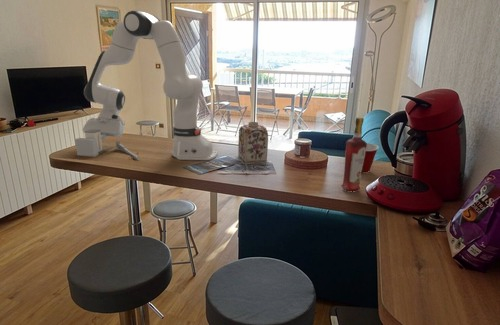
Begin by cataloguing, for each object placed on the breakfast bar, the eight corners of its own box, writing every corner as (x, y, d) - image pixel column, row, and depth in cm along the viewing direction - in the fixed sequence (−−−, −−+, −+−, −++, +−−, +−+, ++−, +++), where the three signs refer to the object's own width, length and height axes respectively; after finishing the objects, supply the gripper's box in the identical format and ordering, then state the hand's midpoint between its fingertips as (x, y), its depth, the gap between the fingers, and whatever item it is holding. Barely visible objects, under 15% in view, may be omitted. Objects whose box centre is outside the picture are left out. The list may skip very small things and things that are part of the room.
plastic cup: (345, 171, 147) (349, 145, 144) (355, 165, 155) (359, 141, 151) (369, 177, 141) (373, 150, 137) (378, 171, 148) (382, 145, 145)
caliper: (116, 152, 166) (115, 140, 164) (118, 151, 167) (117, 139, 165) (138, 161, 154) (137, 148, 152) (140, 160, 155) (139, 147, 153)
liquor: (350, 185, 131) (359, 115, 122) (364, 191, 125) (375, 119, 116) (336, 188, 127) (344, 116, 119) (350, 195, 121) (360, 120, 113)
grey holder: (120, 149, 170) (118, 132, 167) (99, 159, 153) (97, 140, 151) (95, 147, 172) (93, 130, 170) (72, 157, 155) (70, 138, 153)
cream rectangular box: (103, 150, 163) (100, 129, 160) (97, 153, 158) (94, 132, 155) (93, 149, 164) (91, 129, 160) (87, 152, 159) (84, 131, 156)
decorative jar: (244, 162, 155) (245, 125, 150) (237, 155, 166) (238, 120, 160) (268, 160, 159) (269, 124, 153) (259, 154, 169) (261, 119, 164)
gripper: (85, 114, 167) (75, 137, 161) (122, 116, 164) (113, 140, 158) (92, 121, 173) (82, 143, 167) (128, 123, 170) (119, 146, 164)
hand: (98, 142), depth 163 cm, fingers closed, pressing on cream rectangular box
